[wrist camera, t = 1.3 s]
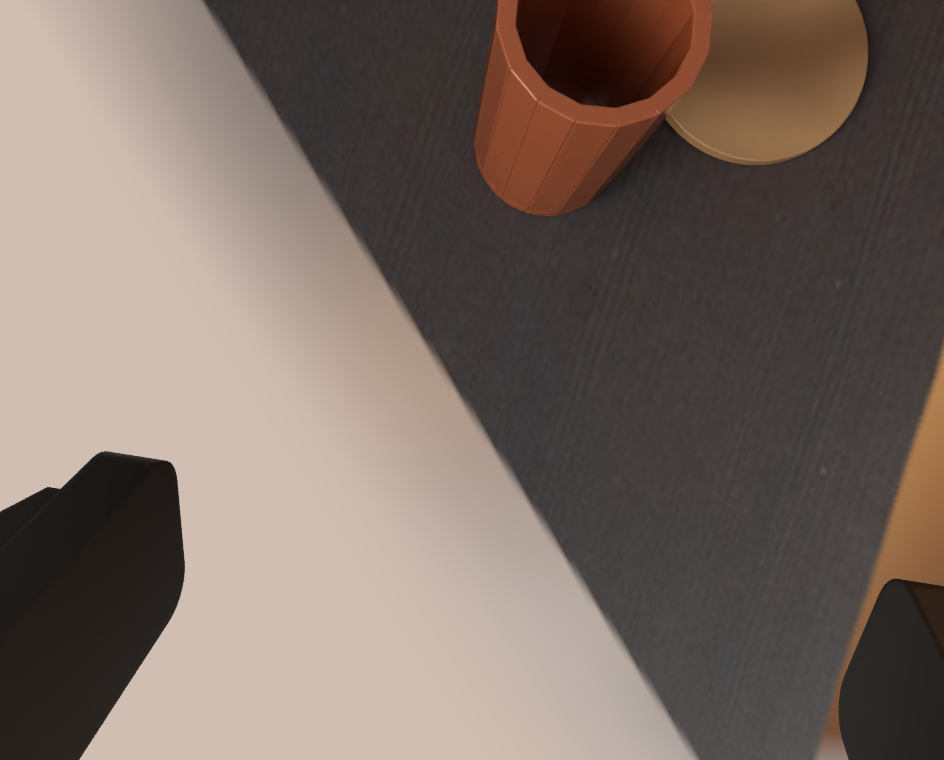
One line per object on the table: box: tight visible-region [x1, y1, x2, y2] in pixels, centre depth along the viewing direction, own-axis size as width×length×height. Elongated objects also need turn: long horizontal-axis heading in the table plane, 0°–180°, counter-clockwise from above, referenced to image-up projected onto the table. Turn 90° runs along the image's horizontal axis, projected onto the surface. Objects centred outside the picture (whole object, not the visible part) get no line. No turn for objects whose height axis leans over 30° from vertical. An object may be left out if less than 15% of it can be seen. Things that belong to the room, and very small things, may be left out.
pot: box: [474, 0, 713, 216], centre depth 25 cm, size 5×5×10 cm
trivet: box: [665, 0, 868, 165], centre depth 30 cm, size 8×8×1 cm
